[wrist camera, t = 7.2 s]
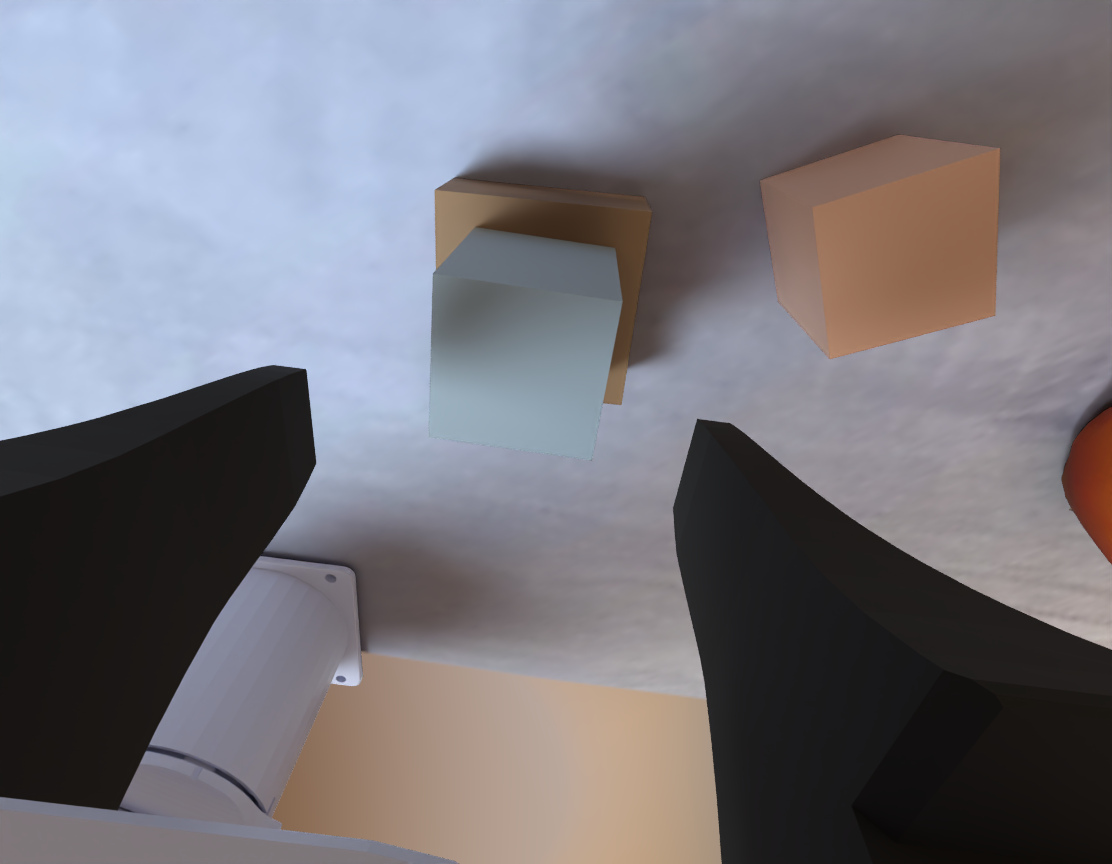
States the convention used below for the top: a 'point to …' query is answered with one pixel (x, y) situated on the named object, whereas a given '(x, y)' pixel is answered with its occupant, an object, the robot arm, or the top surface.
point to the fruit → (1092, 480)
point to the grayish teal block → (522, 342)
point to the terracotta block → (885, 241)
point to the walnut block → (555, 236)
